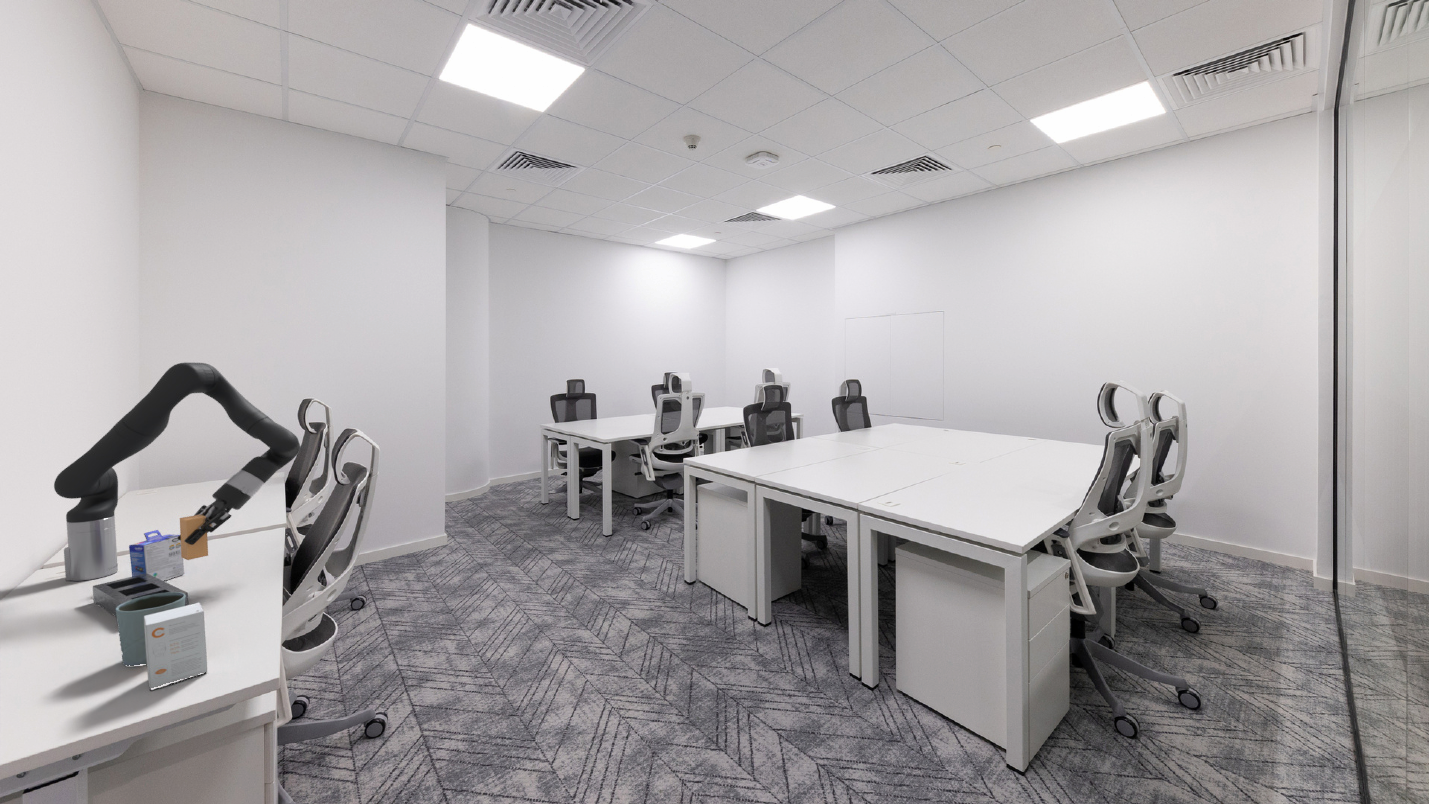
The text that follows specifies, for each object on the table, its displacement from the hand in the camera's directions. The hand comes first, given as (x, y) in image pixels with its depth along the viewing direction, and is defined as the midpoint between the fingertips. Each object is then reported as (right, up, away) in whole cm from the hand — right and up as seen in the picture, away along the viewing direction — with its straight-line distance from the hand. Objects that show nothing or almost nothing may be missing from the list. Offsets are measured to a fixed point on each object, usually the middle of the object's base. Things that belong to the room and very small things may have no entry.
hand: (184, 541), depth 144 cm
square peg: (+1, -5, +2) cm, 5 cm away
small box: (+38, -17, -39) cm, 57 cm away
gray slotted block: (-4, -15, -7) cm, 17 cm away
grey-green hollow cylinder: (+25, -16, -31) cm, 43 cm away
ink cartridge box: (-18, -14, +10) cm, 25 cm away
